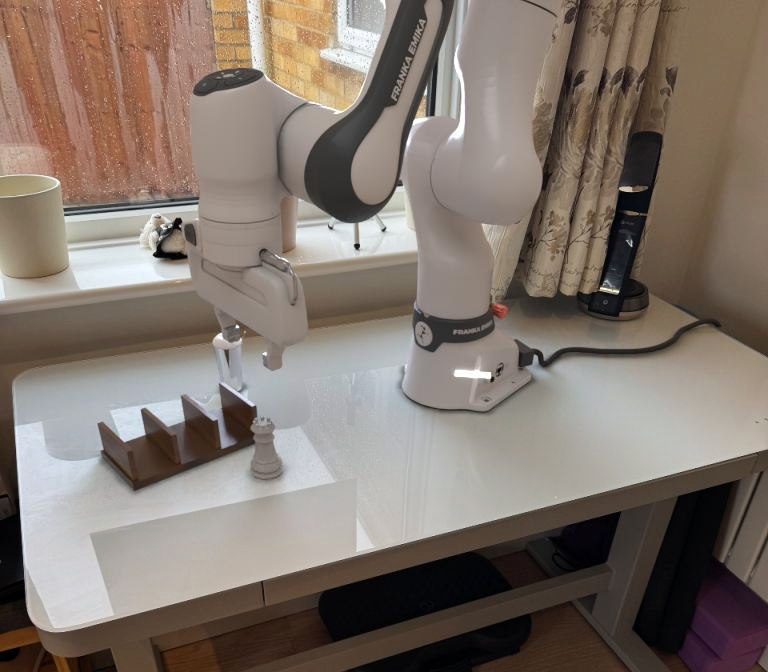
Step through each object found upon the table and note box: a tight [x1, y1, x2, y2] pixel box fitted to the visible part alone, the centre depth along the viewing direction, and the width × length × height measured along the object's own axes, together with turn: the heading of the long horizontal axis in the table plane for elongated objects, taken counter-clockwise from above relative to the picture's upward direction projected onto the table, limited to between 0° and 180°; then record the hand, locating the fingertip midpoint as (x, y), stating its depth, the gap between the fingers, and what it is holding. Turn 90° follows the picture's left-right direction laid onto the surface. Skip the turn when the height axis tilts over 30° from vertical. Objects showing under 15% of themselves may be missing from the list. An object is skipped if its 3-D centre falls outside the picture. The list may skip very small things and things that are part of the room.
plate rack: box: [96, 381, 259, 491], centre depth 104 cm, size 20×10×6 cm, turn 131°
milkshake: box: [211, 332, 246, 393], centre depth 117 cm, size 4×5×10 cm
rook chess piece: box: [249, 415, 284, 481], centre depth 100 cm, size 4×4×8 cm
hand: (251, 353), depth 91 cm, fingers open, 8 cm apart
